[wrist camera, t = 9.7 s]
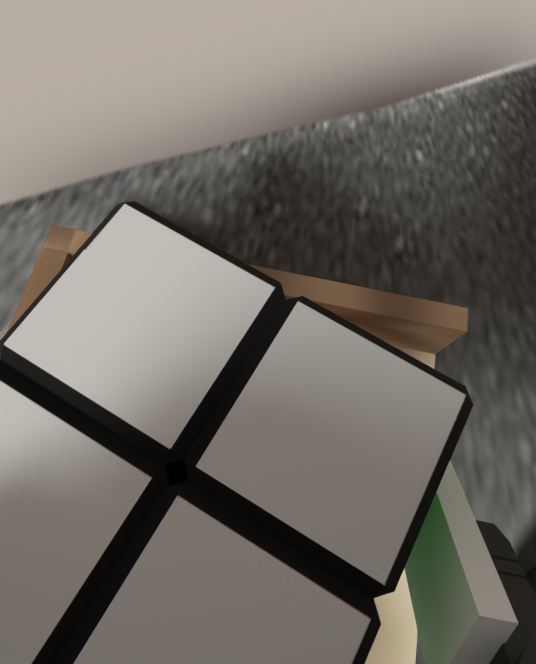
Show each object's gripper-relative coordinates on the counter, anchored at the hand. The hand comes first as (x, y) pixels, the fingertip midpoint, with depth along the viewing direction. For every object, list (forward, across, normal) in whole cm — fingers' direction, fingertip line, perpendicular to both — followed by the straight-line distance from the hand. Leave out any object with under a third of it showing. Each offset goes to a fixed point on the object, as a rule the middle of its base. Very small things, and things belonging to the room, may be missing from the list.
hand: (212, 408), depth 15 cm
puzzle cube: (+2, 0, -5) cm, 5 cm away
